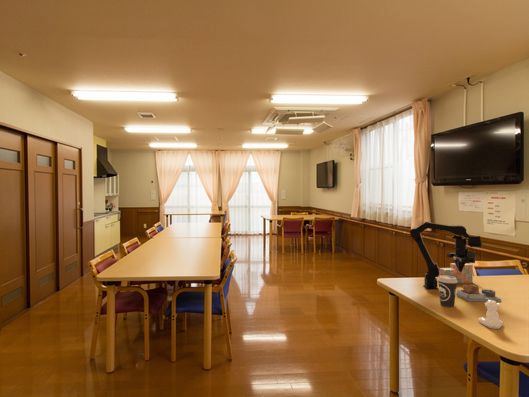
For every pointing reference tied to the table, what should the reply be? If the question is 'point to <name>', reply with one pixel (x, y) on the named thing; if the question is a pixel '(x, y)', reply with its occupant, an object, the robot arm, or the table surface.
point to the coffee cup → (447, 290)
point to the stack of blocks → (460, 276)
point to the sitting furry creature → (491, 315)
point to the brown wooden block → (471, 289)
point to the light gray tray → (476, 296)
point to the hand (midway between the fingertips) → (460, 271)
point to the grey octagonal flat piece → (488, 293)
